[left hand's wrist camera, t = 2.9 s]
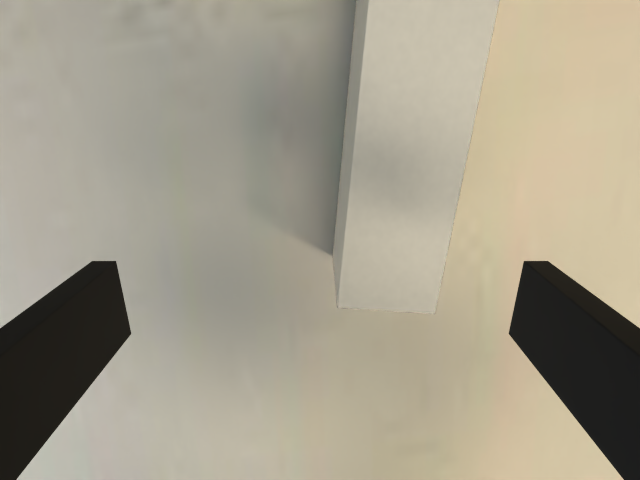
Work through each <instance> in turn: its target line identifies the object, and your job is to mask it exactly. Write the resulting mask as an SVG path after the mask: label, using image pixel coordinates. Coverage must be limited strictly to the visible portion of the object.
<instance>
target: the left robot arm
mask: <svg viewBox="0 0 640 480" xmlns="http://www.w3.org/2000/svg"><path fill="white" fill-rule="evenodd" d="M130 335H131V330H130V326H129V321H128V316H127V311H126V307H125V302H124V297H123V292H122V287H121V283H120V278H119V273H118V268H117V264H116V261H92V262H90V263H89V264H88V265H86V266H85V267H84V268H82V269H81V270H79V271H78V272H77V273H75V274H74V275H73V276H71V277H70V278H69V279H67V280H66V281H64V282H63V283H62V284H60V285H59V286H58V287H56V288H55V289H54V290H52V291H51V292H49V293H48V294H47V295H45V296H44V297H43V298H41V299H40V300H38V301H37V302H36V303H34V304H33V305H32V306H30V307H29V308H28V309H26V310H25V311H23V312H22V313H21V314H19V315H18V316H17V317H15V318H14V319H13V320H11V321H10V322H8V323H7V324H6V325H4V326H3V327H2V328H0V480H16V479H17V478H18V477H19V475H20V474H21V473H22V471H23V470H24V469H25V468H26V466H27V465H28V464H29V463H30V461H31V460H32V459H33V458H34V456H35V455H36V454H37V452H38V451H39V450H40V449H41V447H42V446H43V445H44V444H45V442H46V441H47V440H48V439H49V437H50V436H51V435H52V433H53V432H54V431H55V430H56V428H57V427H58V426H59V425H60V423H61V422H62V421H63V419H64V418H65V417H66V416H67V414H68V413H69V412H70V411H71V409H72V408H73V407H74V406H75V404H76V403H77V402H78V400H79V399H80V398H81V397H82V395H83V394H84V393H85V392H86V390H87V389H88V388H89V387H90V385H91V384H92V383H93V381H94V380H95V379H96V378H97V376H98V375H99V374H100V373H101V371H102V370H103V369H104V368H105V366H106V365H107V364H108V362H109V361H110V360H111V359H112V357H113V356H114V355H115V354H116V352H117V351H118V350H119V348H120V347H121V346H122V345H123V343H124V342H125V341H126V340H127V338H128V337H129V336H130ZM509 335H510V336H511V337H512V338H513V340H514V341H515V342H516V343H517V345H518V346H519V347H520V348H521V350H522V351H523V352H524V354H525V355H526V356H527V357H528V359H529V360H530V361H531V362H532V364H533V365H534V366H535V368H536V369H537V370H538V371H539V373H540V374H541V375H542V376H543V378H544V379H545V380H546V381H547V383H548V384H549V385H550V387H551V388H552V389H553V390H554V392H555V393H556V394H557V395H558V397H559V398H560V399H561V400H562V402H563V403H564V404H565V406H566V407H567V408H568V409H569V411H570V412H571V413H572V414H573V416H574V417H575V418H576V419H577V421H578V422H579V423H580V425H581V426H582V427H583V428H584V430H585V431H586V432H587V433H588V435H589V436H590V437H591V439H592V440H593V441H594V442H595V444H596V445H597V446H598V447H599V449H600V450H601V451H602V452H603V454H604V455H605V456H606V458H607V459H608V460H609V461H610V463H611V464H612V465H613V466H614V468H615V469H616V470H617V471H618V473H619V474H620V475H621V477H622V478H623V479H624V480H640V328H638V327H637V326H636V325H634V324H633V323H632V322H630V321H629V320H627V319H626V318H625V317H623V316H622V315H621V314H619V313H618V312H617V311H615V310H614V309H612V308H611V307H610V306H608V305H607V304H606V303H604V302H603V301H602V300H600V299H599V298H597V297H596V296H595V295H593V294H592V293H591V292H589V291H588V290H586V289H585V288H584V287H582V286H581V285H580V284H578V283H577V282H576V281H574V280H573V279H571V278H570V277H569V276H567V275H566V274H565V273H563V272H562V271H561V270H559V269H558V268H556V267H555V266H554V265H552V264H551V263H550V262H548V261H524V264H523V268H522V273H521V278H520V283H519V287H518V292H517V297H516V302H515V307H514V311H513V316H512V321H511V326H510V330H509Z"/></svg>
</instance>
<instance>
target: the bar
mask: <svg viewBox="0 0 640 480" xmlns="http://www.w3.org/2000/svg"><path fill="white" fill-rule="evenodd" d="M499 1H500V0H356V9H355V20H354V31H353V41H352V52H351V63H350V74H349V85H348V95H347V106H346V117H345V128H344V139H343V149H342V160H341V171H340V182H339V193H338V203H337V214H336V225H335V236H334V247H333V267H334V278H335V290H336V301H337V308H345V309H361V310H376V311H392V312H408V313H424V314H435V311H436V307H437V302H438V297H439V292H440V287H441V282H442V277H443V273H444V268H445V263H446V258H447V253H448V248H449V243H450V239H451V234H452V229H453V224H454V219H455V214H456V209H457V205H458V200H459V195H460V190H461V185H462V180H463V175H464V171H465V166H466V161H467V156H468V151H469V146H470V141H471V137H472V132H473V127H474V122H475V117H476V112H477V107H478V103H479V98H480V93H481V88H482V83H483V78H484V73H485V69H486V64H487V59H488V54H489V49H490V44H491V39H492V35H493V30H494V25H495V20H496V15H497V10H498V5H499Z"/></svg>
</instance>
